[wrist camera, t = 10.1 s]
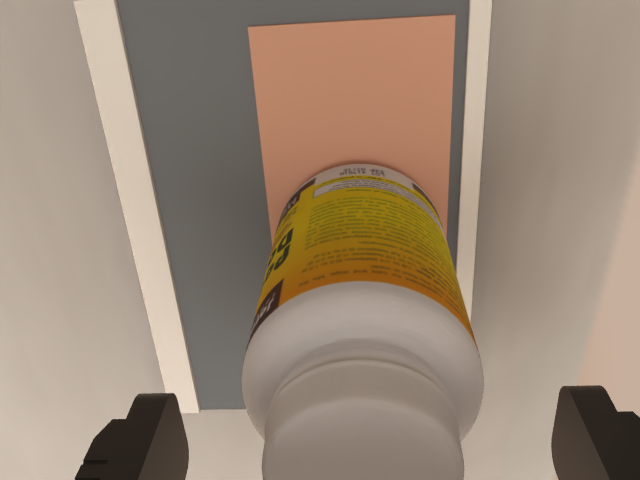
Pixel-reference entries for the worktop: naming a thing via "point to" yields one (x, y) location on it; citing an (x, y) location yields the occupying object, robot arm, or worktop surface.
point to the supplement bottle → (361, 337)
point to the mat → (272, 143)
